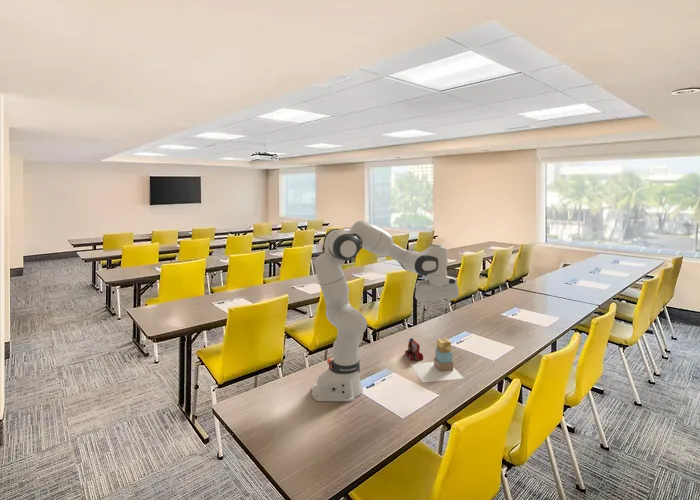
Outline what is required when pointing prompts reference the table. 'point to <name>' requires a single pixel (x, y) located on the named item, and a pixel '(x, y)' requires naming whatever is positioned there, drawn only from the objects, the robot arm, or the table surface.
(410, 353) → the toy fire truck
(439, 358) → the teal block
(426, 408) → the table surface
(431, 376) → the board
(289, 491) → the table surface
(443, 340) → the ochre block
